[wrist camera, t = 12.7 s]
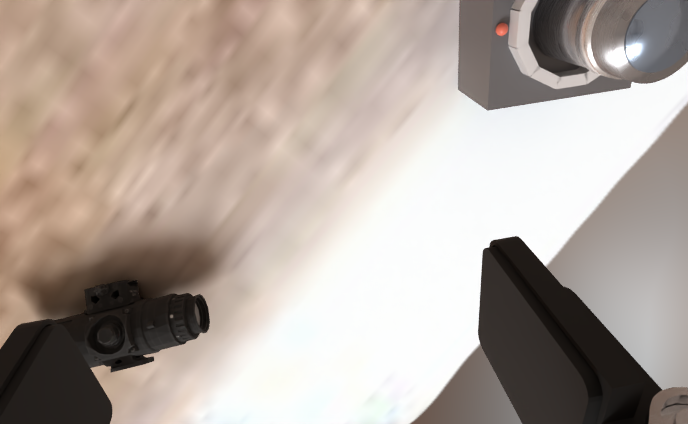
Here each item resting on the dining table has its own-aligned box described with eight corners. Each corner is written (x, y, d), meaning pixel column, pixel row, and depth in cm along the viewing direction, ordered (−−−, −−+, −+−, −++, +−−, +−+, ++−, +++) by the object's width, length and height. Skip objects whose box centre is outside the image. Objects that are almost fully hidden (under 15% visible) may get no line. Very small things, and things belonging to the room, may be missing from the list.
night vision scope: (210, 266, 46) (228, 363, 44) (43, 305, 46) (55, 404, 44) (179, 263, 38) (199, 381, 36) (-22, 310, 38) (-11, 431, 36)
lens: (532, -20, 28) (620, -18, 21) (614, -36, 28) (728, -40, 21) (529, 68, 31) (605, 96, 24) (603, 52, 31) (702, 75, 24)
